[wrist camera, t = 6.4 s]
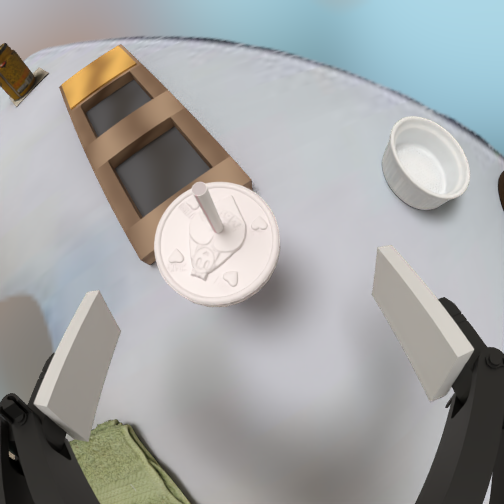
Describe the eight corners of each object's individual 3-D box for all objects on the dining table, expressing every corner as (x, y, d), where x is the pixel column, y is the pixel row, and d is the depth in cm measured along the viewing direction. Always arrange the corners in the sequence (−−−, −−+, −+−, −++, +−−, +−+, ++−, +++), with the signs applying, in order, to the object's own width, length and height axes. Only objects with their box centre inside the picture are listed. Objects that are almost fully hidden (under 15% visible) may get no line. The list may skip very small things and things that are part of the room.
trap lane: (149, 265, 24) (139, 259, 21) (65, 94, 31) (58, 85, 29) (252, 190, 25) (251, 178, 23) (125, 53, 32) (120, 42, 30)
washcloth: (213, 510, 18) (207, 528, 15) (101, 535, 16) (90, 546, 13) (128, 408, 21) (111, 417, 18) (36, 452, 19) (20, 459, 16)
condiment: (10, 98, 34) (-21, 65, 22) (39, 67, 35) (13, 31, 23) (17, 107, 32) (-18, 70, 20) (49, 73, 33) (20, 32, 22)
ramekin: (390, 219, 24) (410, 200, 20) (365, 139, 26) (377, 112, 22) (458, 213, 24) (482, 196, 19) (431, 140, 26) (448, 119, 22)
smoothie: (285, 250, 23) (309, 153, 10) (258, 325, 22) (247, 328, 8) (213, 225, 24) (159, 117, 11) (184, 296, 23) (85, 257, 9)
